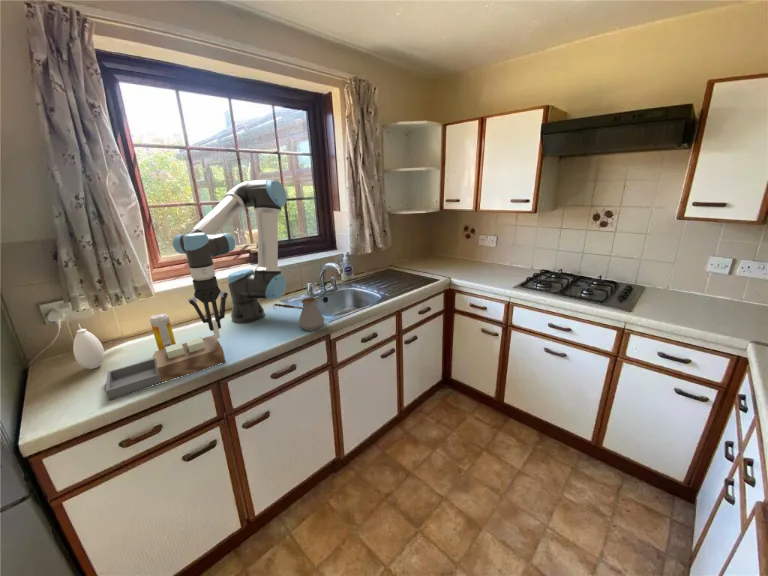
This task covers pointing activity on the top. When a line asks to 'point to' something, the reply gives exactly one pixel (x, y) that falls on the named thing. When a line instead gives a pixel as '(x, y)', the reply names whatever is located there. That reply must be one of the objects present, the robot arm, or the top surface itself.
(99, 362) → the air blower bulb
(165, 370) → the walnut board
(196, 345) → the rear tile
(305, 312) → the coffee pot
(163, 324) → the beer can
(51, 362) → the top surface
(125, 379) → the box
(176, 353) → the front tile
